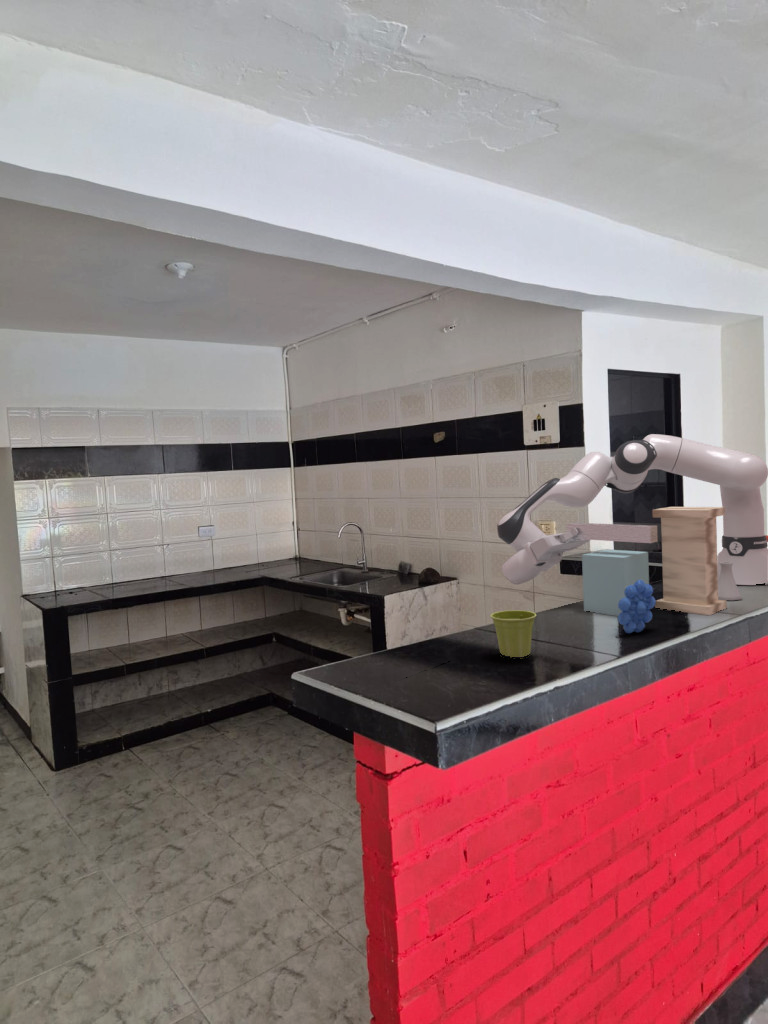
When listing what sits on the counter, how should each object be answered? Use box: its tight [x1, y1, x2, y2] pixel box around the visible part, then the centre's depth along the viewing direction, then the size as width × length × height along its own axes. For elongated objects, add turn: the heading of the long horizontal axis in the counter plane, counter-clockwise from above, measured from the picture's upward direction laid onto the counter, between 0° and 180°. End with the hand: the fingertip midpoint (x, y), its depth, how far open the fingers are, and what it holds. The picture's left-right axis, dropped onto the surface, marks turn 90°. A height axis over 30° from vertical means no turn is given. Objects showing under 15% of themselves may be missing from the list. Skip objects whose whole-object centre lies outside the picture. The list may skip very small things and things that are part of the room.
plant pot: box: [490, 609, 537, 658], centre depth 143 cm, size 9×9×9 cm
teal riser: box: [581, 549, 650, 617], centre depth 179 cm, size 12×12×15 cm
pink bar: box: [566, 522, 658, 544], centre depth 179 cm, size 4×24×4 cm, turn 41°
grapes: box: [617, 580, 657, 634], centre depth 156 cm, size 12×7×12 cm, turn 120°
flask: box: [718, 562, 743, 601], centre depth 186 cm, size 7×7×10 cm
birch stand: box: [652, 506, 728, 616], centre depth 176 cm, size 10×14×26 cm
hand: (582, 529), depth 186 cm, fingers closed on pink bar, 3 cm apart
